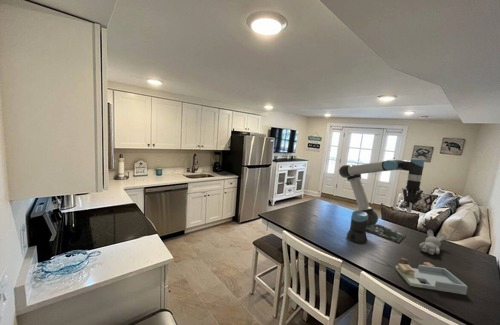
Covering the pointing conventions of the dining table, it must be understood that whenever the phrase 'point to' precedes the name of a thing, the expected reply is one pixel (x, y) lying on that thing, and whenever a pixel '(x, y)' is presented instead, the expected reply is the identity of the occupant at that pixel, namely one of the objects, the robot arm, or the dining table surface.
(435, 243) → the toy
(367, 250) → the dining table surface
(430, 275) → the tray
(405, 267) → the maple block
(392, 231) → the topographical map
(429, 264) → the terracotta block
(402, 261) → the walnut dowel
